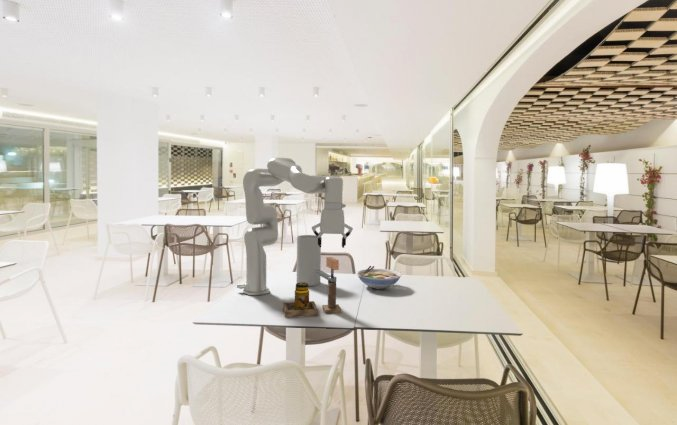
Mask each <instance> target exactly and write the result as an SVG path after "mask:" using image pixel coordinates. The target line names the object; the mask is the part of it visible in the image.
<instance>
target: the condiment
mask: <svg viewBox="0 0 677 425" xmlns="http://www.w3.org/2000/svg"><path fill="white" fill-rule="evenodd" d="M309 301H310V290H309V286H308V283H304V282H300V283H297V282H296V284H295V290H294V302H295V307H293V308H292V309H290V310H309V309H310V308H309Z"/></svg>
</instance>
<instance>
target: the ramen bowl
mask: <svg viewBox="0 0 677 425" xmlns="http://www.w3.org/2000/svg"><path fill="white" fill-rule="evenodd" d="M356 272H357V273H356V274H357V277H358V279H359V280H360V281H361V282H362V283H363V284H364V285H366V286H367V287H371V288H372V289H375V290H385V289H387V288H389V287H392V286H394V285H395V284H397V282H398V281H399V280H400V278H401V276H402V274H401V272H399V271H397V270H393V269H386V268H375V265H373V266H371V265H369V266H368V267H367V268H365V269H360V270H359V271H356Z"/></svg>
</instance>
